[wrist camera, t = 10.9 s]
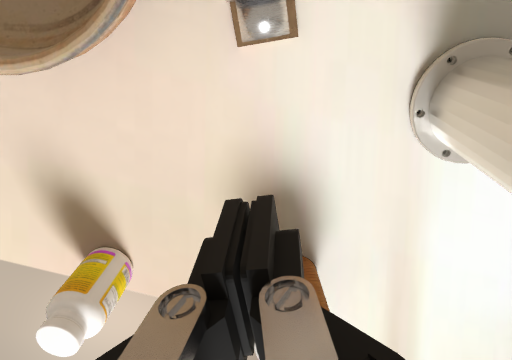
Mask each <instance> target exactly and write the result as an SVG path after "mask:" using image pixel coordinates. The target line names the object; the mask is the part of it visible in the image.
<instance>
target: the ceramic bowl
mask: <svg viewBox="0 0 512 360" xmlns="http://www.w3.org/2000/svg"><path fill="white" fill-rule="evenodd" d="M135 2H136V0H0V75H22V74H27V73H32V72H37V71H42V70H47V69H50V68H52V67H55V66H57V65H59V64H62V63H64V62H66V61H69V60H71V59H73V58H75V57H78V56H80V55H82V54H84V53H86V52H88V51H89V50H90V49H92V48H93V47H94V46H96V45H97V44H99V43H100V42H101V41H103V40H104V39H105V38H107V37H108V36H109V35H110V34H111V33H112V32H113V31H114V29H115V28H116V27H117V26H118V25H119V24H120V23H121V22H122V20H123V19H124V18H125V17H126V16H127V15H128V13H129V12H130V10H131V8H132V7H133V5H134V3H135Z"/></svg>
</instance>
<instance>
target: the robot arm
mask: <svg viewBox="0 0 512 360" xmlns="http://www.w3.org/2000/svg"><path fill="white" fill-rule="evenodd" d="M510 49H511V51H510ZM509 51H510V52H509ZM449 57H450V61H449V62H448V63H447V60H448V58H449ZM418 110H420V112H419V113H418V114H416V113H417V111H418ZM410 121H411V127H412V129H413V132H414V135H415V137H416V138H417V140H418V141H419V143H420V144H421V145H422V146H423V147H424V148H425V149H426V150H427V151H429V152H430V153H431V154H433V155H434V156H436V157H438V158H440V159H442V160H445V161H449V162H453V163H471V164H472V165H473V166H475V167H476V168H477V169H479V170H480V171H481V172H483V173H484V174H485V175H487V176H488V177H489V178H491V179H492V180H493V181H495V182H496V183H498V184H499V185H500V186H502V187H503V188H504V189H506V190H507V191H508V192H510V193H511V194H512V40H511V39H504V38H480V39H474V40H470V41H467V42H465V43H462V44H459V45H457V46H455V47H454V48H452V49H450V50H448V51H446V52H445V53H444V54H443V55H441V56H440V57H439V58H437V59H436V60H435V61H434V62H433V63H432V64H431V65H430V66H429V67H428V69H427V70H426V71H425V72H424V74H423V75H422V77H421V78H420V80H419V81H418V84H417V86H416V88H415V90H414V92H413V96H412V100H411V104H410ZM444 150H445V151H444ZM443 151H444V152H443ZM442 152H443V153H442ZM254 344H255V345H256V349H257V353H258V355H259V359H260V360H405V359H404V358H403V357H402V356H400V355H399V354H398V353H396V352H395V351H393V350H391V349H390V348H388V347H386V346H385V345H383V344H382V343H380V342H378V341H377V340H375V339H373V338H372V337H370V336H368V335H367V334H365V333H364V332H362V331H360V330H359V329H357V328H355V327H354V326H352V325H351V324H349V323H347V322H346V321H344V320H342V319H341V318H339V317H337V316H336V315H334V314H333V313H331V312H329V311H328V310H326V309H324V308H323V307H321V306H320V303H319V300H318V297H317V294H316V291H315V289H314V287H313V286H312V284H311V283H310V282H308V281H307V280H306V279H304V268H303V258H302V250H301V242H300V235H299V229H292V230H282V231H279V225H278V219H277V213H276V207H275V200H274V196H273V195H266V196H258V197H257V201H252V203H251V208H249V204H248V202H243V201H242V199H241V198H239V199H231V200H226V201H225V203H224V206H223V209H222V212H221V215H220V218H219V221H218V224H217V227H216V230H215V233H214V236H213V237H211V238H205V239H204V241H203V243H202V246H201V249H200V252H199V254H198V257H197V260H196V262H195V265H194V268H193V270H192V273H191V276H190V278H189V281H188V284H183V285H179V286H176V287H173V288H171V289H169V290H167V291H166V292H165V293H163V294H162V295H161V296H160V297H159V298H158V299H157V300H156V302H155V303H154V305H153V306H152V308H151V309H150V311H149V312H148V314H147V315H146V317H145V318H144V320H143V322H142V323H141V325H140V326H139V328H138V329H137V331H136V332H135V334H134V335H132V336H131V337H129V338H128V339H126V340H125V341H123V342H122V343H120V344H119V345H117V346H116V347H114V348H112V349H111V350H109V351H108V352H106V353H105V354H103V355H102V356H101V357H99V358H97V359H96V360H247V356H249V355H253V353H254Z"/></svg>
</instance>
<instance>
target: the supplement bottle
mask: <svg viewBox="0 0 512 360" xmlns="http://www.w3.org/2000/svg"><path fill="white" fill-rule="evenodd" d="M132 274H133V267H132V264H131V262H130V260H129V259H128V257H127V256H126V255H124V254H123V253H122V252H120V251H118V250H116V249H113V248H109V247H102V248H98V249H95V250H93V251H92V252H91V253H89V254H88V256H87V257H86V258H85V259H84V260H83V261H82V263H81V264H80V265H79V266H78V267H77V269H76V270H75V271H74V272H73V273H72V275H71V276H70V277H69V278H68V280H67V281H66V282H65V283H64V284H63V285H62V287H61V288H60V289H59V290H58V292H57V293H56V294H55V295H54V296H53V298H52V299H51V300H50V302H49V303H48V305H47V309H46V318H47V320H46V321H44V323H43V324H42V325H41V327H40V328H39V329H38V331H37V333H36V340H37V342H38V344H39V345H40V346H41V347H42V349H44V350H45V351H47V352H48V353H50V354H53V355H56V356H60V357H68V356H71V355H74V354H75V353H76V352H77V351H78V349H79V348H80V346H81V345H82V344H83V342H84V339H87V338H90V337H92V336H94V335H95V334H97V333H98V332H99V331H100V330H101V328H102V327H103V325H104V323H105V322H106V320H107V319H108V317H109V315H110V313H111V312H112V310H113V308H114V307H115V305H116V303H117V302H118V300H119V298H120V297H121V295H122V293H123V291H124V290H125V288H126V287H127V285H128V283H129V281H130V279H131V277H132Z"/></svg>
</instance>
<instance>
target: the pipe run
mask: <svg viewBox="0 0 512 360" xmlns="http://www.w3.org/2000/svg"><path fill="white" fill-rule="evenodd" d="M226 1H227V2H230V6H231V12H232V18H233V23H234V29H235V35H236V41H237V46H238V47H242V46H247V45H253V44H259V43H264V42H270V41H276V40H282V39H287V38H293V37H298V29H297V19H296V10H295V0H226Z"/></svg>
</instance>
